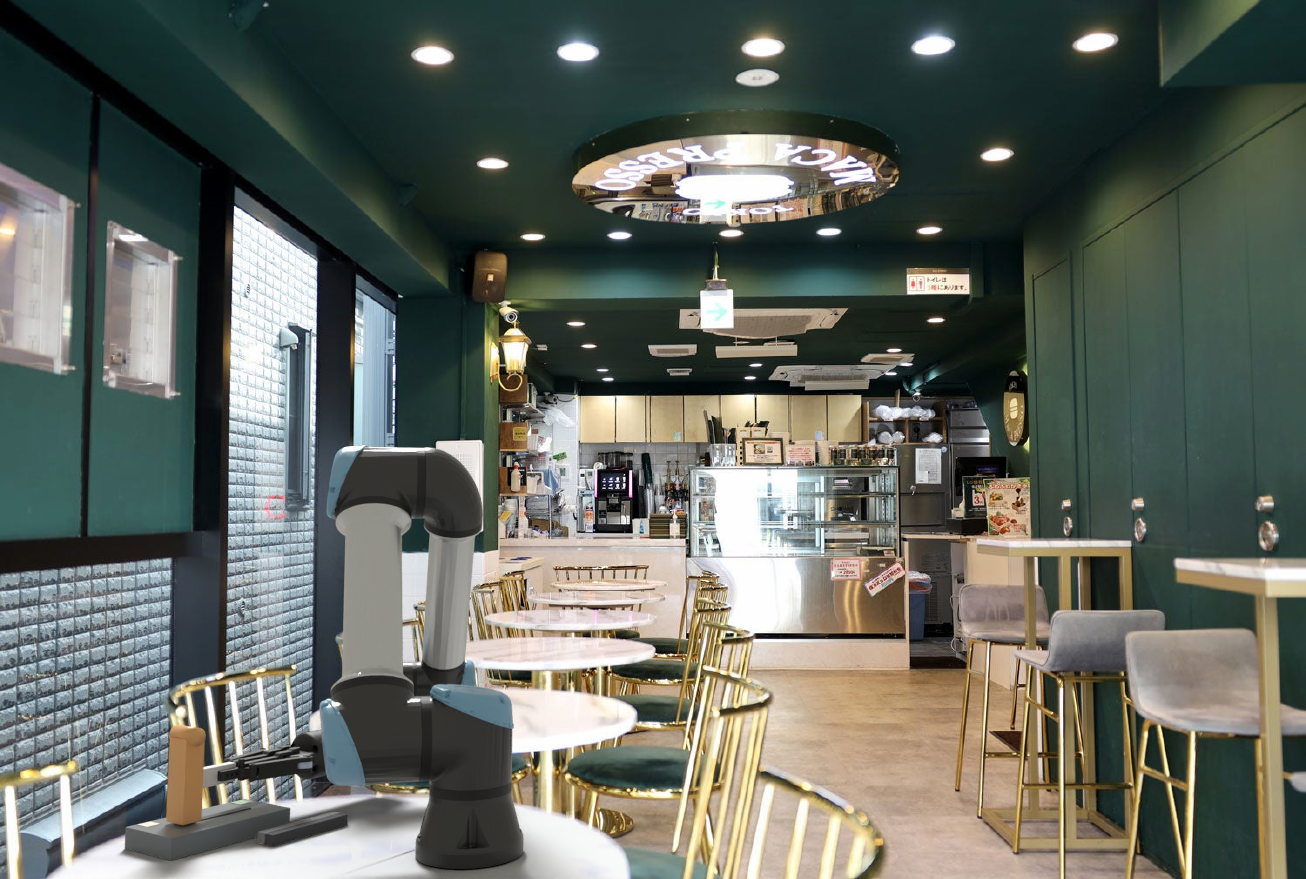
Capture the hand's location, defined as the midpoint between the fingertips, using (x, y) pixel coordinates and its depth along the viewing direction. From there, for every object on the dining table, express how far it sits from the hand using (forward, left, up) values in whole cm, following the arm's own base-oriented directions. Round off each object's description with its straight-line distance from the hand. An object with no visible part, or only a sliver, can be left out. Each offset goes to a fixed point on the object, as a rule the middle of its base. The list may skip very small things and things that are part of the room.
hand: (194, 779), depth 156 cm
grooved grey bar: (-10, -12, -9) cm, 18 cm away
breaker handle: (0, +2, -6) cm, 6 cm away
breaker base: (0, -3, -9) cm, 9 cm away
